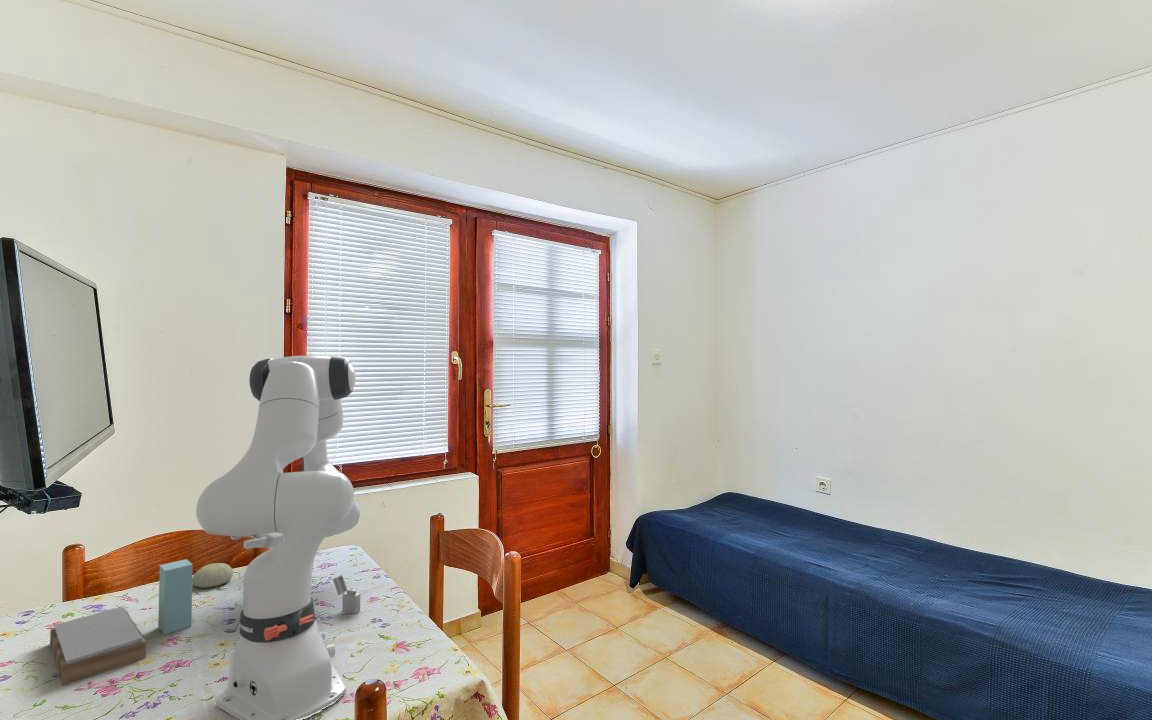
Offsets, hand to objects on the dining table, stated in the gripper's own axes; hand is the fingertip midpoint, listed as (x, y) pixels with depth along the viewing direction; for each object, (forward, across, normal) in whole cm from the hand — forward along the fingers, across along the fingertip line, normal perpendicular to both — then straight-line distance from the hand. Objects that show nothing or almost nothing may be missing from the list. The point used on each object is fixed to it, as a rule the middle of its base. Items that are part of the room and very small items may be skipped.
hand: (237, 540), depth 125 cm
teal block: (+12, 0, +16) cm, 20 cm away
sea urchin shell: (-1, -22, +17) cm, 27 cm away
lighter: (-17, +22, +16) cm, 32 cm away
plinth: (+25, 0, +16) cm, 30 cm away
